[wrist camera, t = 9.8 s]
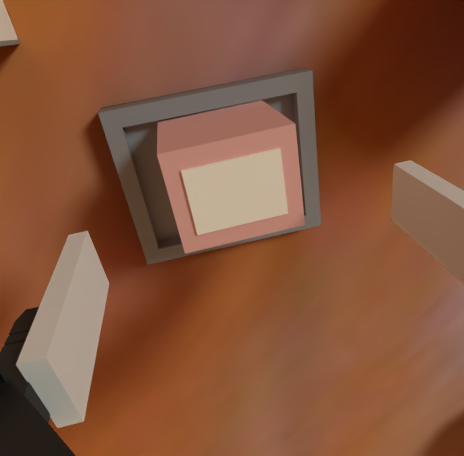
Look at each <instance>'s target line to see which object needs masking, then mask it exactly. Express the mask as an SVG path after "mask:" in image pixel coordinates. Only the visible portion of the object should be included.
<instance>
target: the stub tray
mask: <svg viewBox="0 0 464 456" xmlns="http://www.w3.org/2000/svg"><path fill="white" fill-rule="evenodd" d="M257 100H262V101H264V102H265V103H267V104H268V105H270V106H271V107H272V108H274V109H275V110H277V111H278V112H280V113H281V114H282V115H284V116H285V117H287V118H288V119H290V120H291V121H292V122H294V123H295V125H296V135H297V146H298V156H299V167H300V177H301V188H302V199H303V209H304V220H305V225H302V226H298V227H294V228H290V229H286V230H281V231H277V232H273V233H269V234H265V235H261V236H257V237H253V238H248V239H244V240H240V241H236V242H232V243H228V244H224V245H219V246H215V247H211V248H207V249H203V250H199V251H195V252H191V253H186V254H185V252H184V248H183V245H182V241H181V238H180V234H179V231H178V227H177V224H176V220H175V217H174V213H173V210H172V206H171V203H170V199H169V195H168V192H167V188H166V185H165V181H164V178H163V174H162V171H161V167H160V164H159V160H158V157H157V128H158V120H163V119H168V118H173V117H178V116H183V115H188V114H193V113H198V112H203V111H207V110H212V109H217V108H222V107H227V106H232V105H237V104H242V103H247V102H252V101H257ZM98 115H99V118H100V121H101V124H102V127H103V130H104V133H105V136H106V139H107V142H108V145H109V148H110V151H111V154H112V157H113V161H114V164H115V167H116V170H117V173H118V176H119V179H120V182H121V185H122V188H123V191H124V194H125V197H126V200H127V203H128V206H129V209H130V213H131V216H132V219H133V222H134V225H135V228H136V231H137V234H138V237H139V240H140V243H141V246H142V249H143V252H144V255H145V258H146V262H147V265H150V264H154V263H159V262H163V261H168V260H172V259H176V258H181V257H185V256H189V255H194V254H198V253H203V252H207V251H211V250H216V249H220V248H224V247H229V246H233V245H237V244H242V243H246V242H251V241H255V240H259V239H264V238H268V237H272V236H277V235H281V234H286V233H290V232H294V231H299V230H303V229H307V228H312V227H316V226H321V218H320V199H319V181H318V163H317V145H316V126H315V108H314V90H313V71H312V70H309V69H305V68H301V69H296V70H291V71H286V72H281V73H276V74H271V75H266V76H261V77H256V78H251V79H246V80H241V81H236V82H230V83H225V84H220V85H215V86H210V87H205V88H200V89H195V90H190V91H185V92H180V93H175V94H170V95H165V96H160V97H155V98H150V99H145V100H140V101H135V102H129V103H124V104H119V105H114V106H109V107H104V108H101V110H100V111H99V112H98Z"/></svg>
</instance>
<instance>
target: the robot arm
mask: <svg viewBox="0 0 464 456" xmlns="http://www.w3.org/2000/svg"><path fill="white" fill-rule="evenodd" d="M390 219H391V220H392V221H393V222H394V223H395V224H396V225H397V226H398V227H400V228H401V229H402V230H403V231H404V232H405V233H406V234H407V235H409V236H410V237H411V238H412V239H413V240H414V241H415V242H417V243H418V244H419V245H420V246H421V247H422V248H423V249H424V250H426V251H427V252H428V253H429V254H430V255H431V256H432V257H433V258H435V259H436V260H437V261H438V262H439V263H440V264H441V265H443V266H444V267H445V268H446V269H447V270H448V271H449V272H450V273H452V274H453V275H454V276H455V277H456V278H457V279H458V280H459V281H461V282H462V283H463V284H464V191H463V190H461V189H460V188H458V187H456V186H454V185H453V184H451V183H449V182H447V181H446V180H444V179H442V178H441V177H439V176H437V175H435V174H434V173H432V172H430V171H428V170H427V169H425V168H423V167H422V166H420V165H418V164H416V163H415V162H413V161H411V160H410V161H405V162H401V163H396V164H394V171H393V186H392V202H391V218H390ZM108 287H109V282H108V279H107V277H106V274H105V272H104V269H103V267H102V265H101V262H100V260H99V257H98V255H97V252H96V250H95V247H94V245H93V243H92V240H91V238H90V235H89V233H88V231H84V232H79V233H75V234H70V235H68V238H67V240H66V243H65V245H64V248H63V250H62V252H61V255H60V257H59V260H58V262H57V265H56V267H55V270H54V272H53V275H52V277H51V279H50V282H49V284H48V287H47V289H46V292H45V294H44V297H43V299H42V301H41V304H40V306H39V307H36V308H32V309H27V310H25V311H24V313H23V314H22V315H21V316H20V317H19V318H18V319H17V320H16V321H15V323H14V325H13V327H12V329H11V331H10V333H9V336H8V338H7V340H6V342H5V346H4V347H3V348H2V350H1V353H0V456H75V454H74V453H73V452H72V451H71V450H70V449H69V447H68V446H67V445H66V444H65V443H64V442H63V440H62V439H61V438H60V437H59V436H58V434H57V433H56V432H55V431H54V430H53V429H52V427H51V426H50V425H49V424H48V421H49V418H50V417H51V419H52V420H53V422H54V423H55V425H56V426H57V428H60V427H64V426H68V425H72V424H76V423H80V422H84V418H85V413H86V407H87V402H88V397H89V391H90V386H91V380H92V375H93V369H94V364H95V358H96V353H97V347H98V342H99V337H100V331H101V326H102V320H103V315H104V309H105V304H106V298H107V293H108Z"/></svg>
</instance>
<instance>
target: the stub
mask: <svg viewBox="0 0 464 456" xmlns="http://www.w3.org/2000/svg"><path fill="white" fill-rule="evenodd" d="M157 157H158V160H159V164H160V167H161V171H162V174H163V178H164V181H165V185H166V188H167V192H168V195H169V199H170V203H171V206H172V210H173V213H174V217H175V220H176V224H177V227H178V231H179V234H180V238H181V241H182V245H183V248H184V252H185V254H186V253H191V252H195V251H199V250H203V249H207V248H211V247H215V246H219V245H224V244H228V243H232V242H236V241H240V240H244V239H248V238H253V237H257V236H261V235H265V234H269V233H273V232H277V231H281V230H286V229H290V228H294V227H298V226H302V225H305V220H304V209H303V199H302V188H301V177H300V167H299V156H298V146H297V135H296V125H295V123H294V122H292V121H291V120H290V119H288V118H287V117H285V116H284V115H282V114H281V113H280V112H278V111H277V110H275V109H274V108H272V107H271V106H270V105H268V104H267V103H265V102H264V101H262V100H257V101H252V102H247V103H242V104H237V105H232V106H227V107H222V108H217V109H212V110H207V111H203V112H198V113H193V114H188V115H183V116H178V117H173V118H168V119H163V120H158V128H157Z"/></svg>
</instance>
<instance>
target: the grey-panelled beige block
mask: <svg viewBox="0 0 464 456" xmlns="http://www.w3.org/2000/svg"><path fill="white" fill-rule="evenodd" d="M16 44H20V42H19V40H18V38H17V36H16V33H15V31H14V28H13V26H12V23H11V21H10V18H9V15H8V13H7V10H6V8H5V5H4V3H3V0H0V47H6V46H11V45H16Z"/></svg>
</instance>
